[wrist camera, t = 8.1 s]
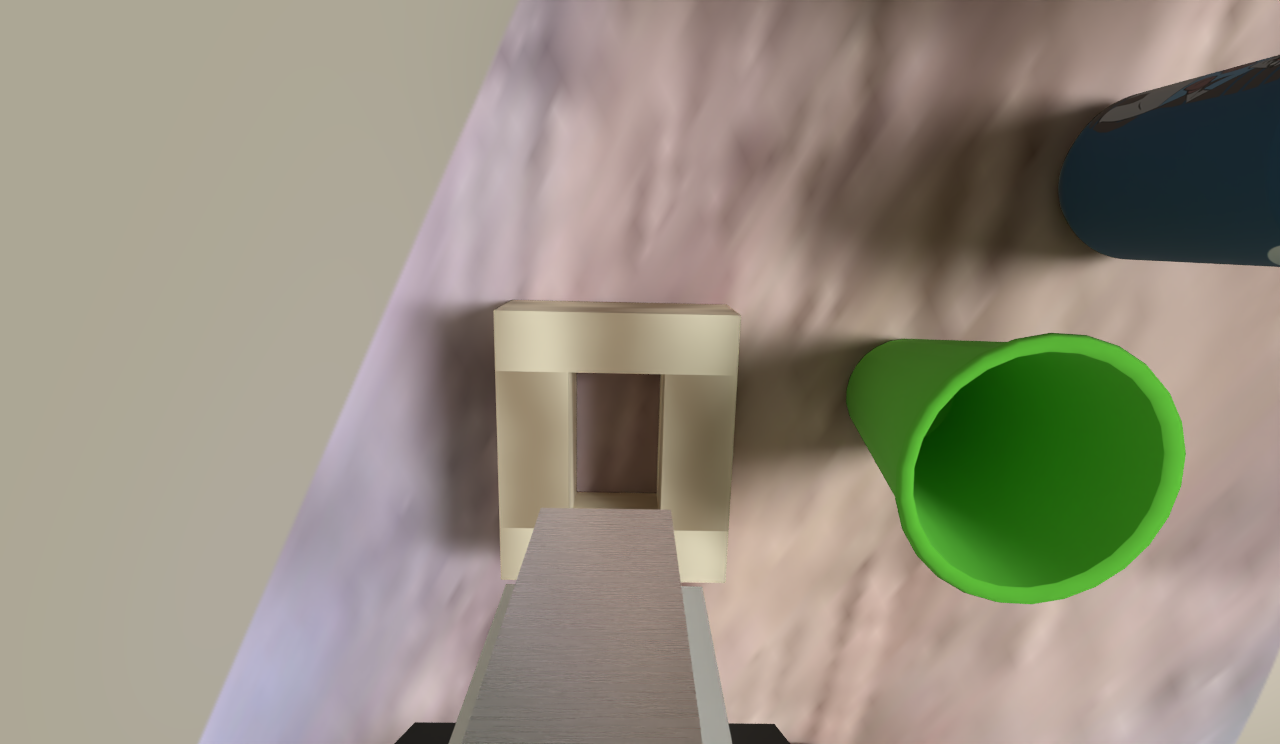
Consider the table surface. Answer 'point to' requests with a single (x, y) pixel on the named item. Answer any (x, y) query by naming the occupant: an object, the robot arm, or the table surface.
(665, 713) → the grey rectangular block
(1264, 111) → the soda can
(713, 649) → the robot arm
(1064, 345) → the cup
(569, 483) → the slotted holder
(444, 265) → the table surface
